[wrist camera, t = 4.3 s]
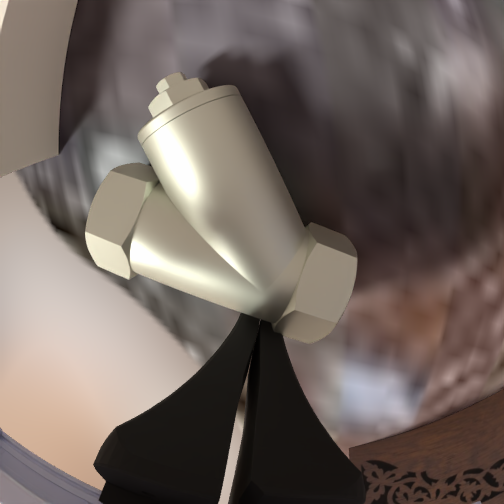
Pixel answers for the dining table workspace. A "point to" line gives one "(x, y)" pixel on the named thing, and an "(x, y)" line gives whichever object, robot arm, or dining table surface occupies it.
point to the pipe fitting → (219, 217)
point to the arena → (31, 78)
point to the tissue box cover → (439, 460)
